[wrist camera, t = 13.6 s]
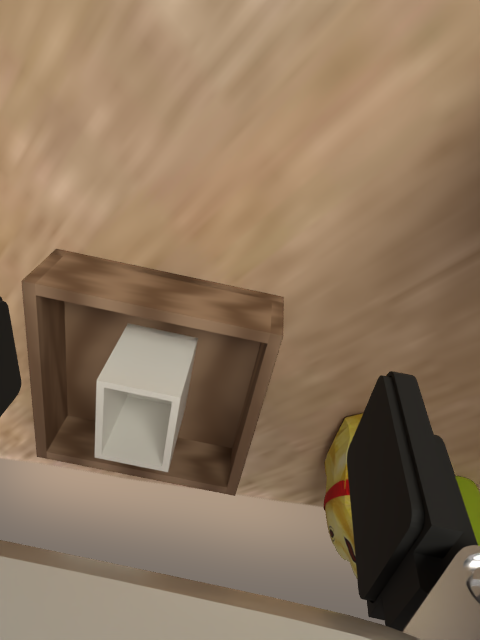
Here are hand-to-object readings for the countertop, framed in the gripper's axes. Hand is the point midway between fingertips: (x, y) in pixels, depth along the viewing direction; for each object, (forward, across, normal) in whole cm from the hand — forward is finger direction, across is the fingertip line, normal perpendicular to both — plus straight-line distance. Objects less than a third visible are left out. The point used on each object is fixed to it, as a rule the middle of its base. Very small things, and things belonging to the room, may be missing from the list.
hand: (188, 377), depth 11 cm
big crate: (+25, +7, +21) cm, 33 cm away
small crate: (+24, +7, +21) cm, 33 cm away
